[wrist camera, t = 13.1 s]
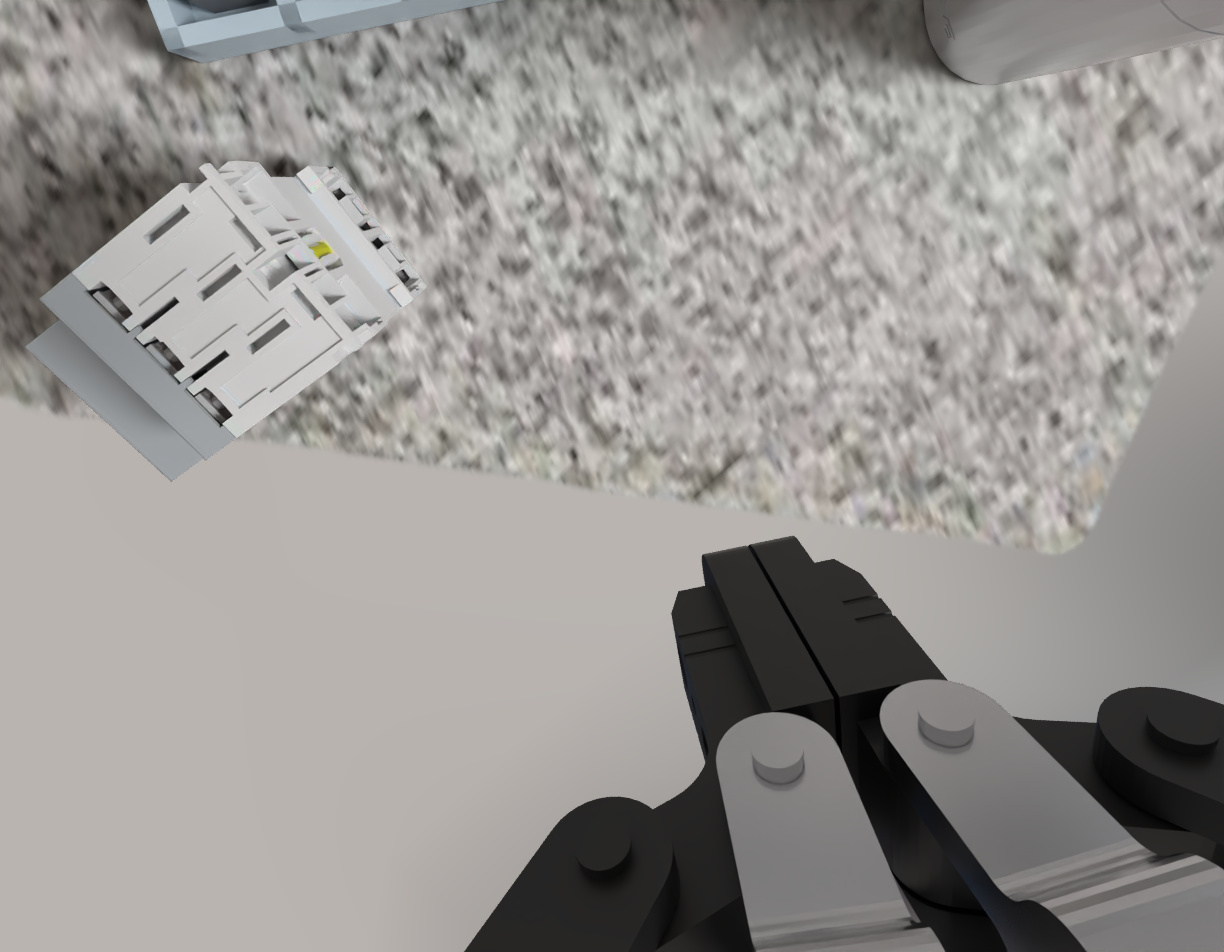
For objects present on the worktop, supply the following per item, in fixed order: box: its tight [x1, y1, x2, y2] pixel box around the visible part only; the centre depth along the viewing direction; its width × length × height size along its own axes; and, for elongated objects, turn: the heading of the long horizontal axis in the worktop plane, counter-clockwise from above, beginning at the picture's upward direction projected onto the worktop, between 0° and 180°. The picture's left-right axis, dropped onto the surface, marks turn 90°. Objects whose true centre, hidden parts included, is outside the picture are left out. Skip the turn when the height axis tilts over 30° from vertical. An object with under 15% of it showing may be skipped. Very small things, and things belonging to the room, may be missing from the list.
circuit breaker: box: [25, 161, 427, 482], centre depth 32 cm, size 8×14×15 cm, turn 123°
